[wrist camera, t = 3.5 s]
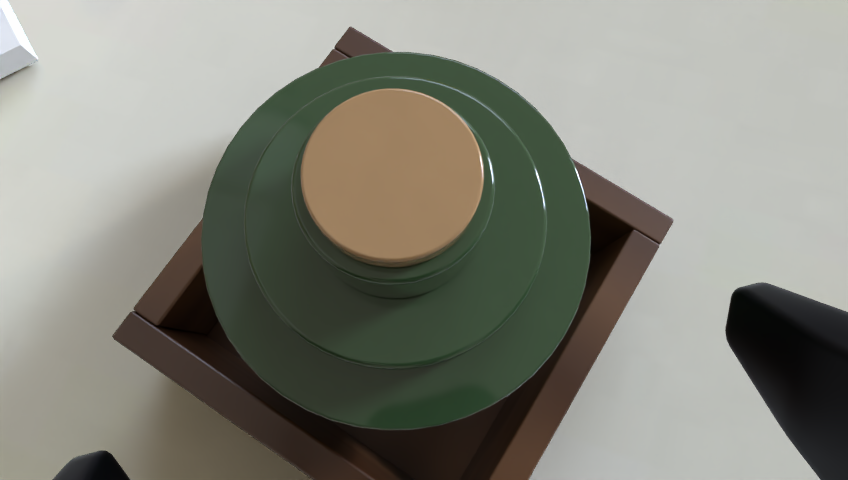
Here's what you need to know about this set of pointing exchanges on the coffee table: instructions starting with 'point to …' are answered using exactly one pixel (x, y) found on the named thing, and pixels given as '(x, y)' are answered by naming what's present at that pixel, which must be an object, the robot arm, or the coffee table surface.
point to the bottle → (396, 241)
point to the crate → (399, 449)
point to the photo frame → (13, 43)
